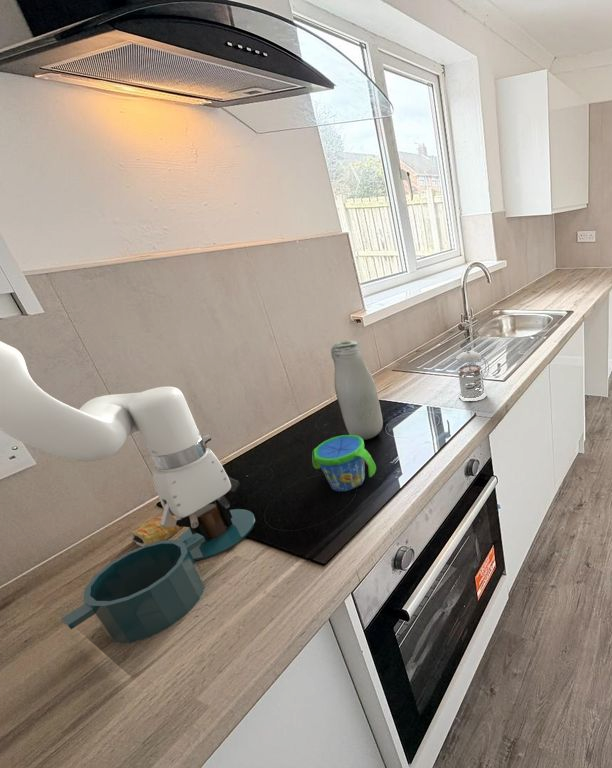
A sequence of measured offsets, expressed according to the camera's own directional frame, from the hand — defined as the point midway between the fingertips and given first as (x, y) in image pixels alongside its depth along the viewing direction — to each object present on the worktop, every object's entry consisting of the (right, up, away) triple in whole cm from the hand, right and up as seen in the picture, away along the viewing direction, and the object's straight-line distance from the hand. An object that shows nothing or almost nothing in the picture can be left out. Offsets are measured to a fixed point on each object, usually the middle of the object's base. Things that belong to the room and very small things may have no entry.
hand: (215, 530), depth 82 cm
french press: (+47, +25, +55) cm, 77 cm away
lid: (0, -1, 0) cm, 1 cm away
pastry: (-12, -2, +2) cm, 13 cm away
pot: (+1, -8, -14) cm, 16 cm away
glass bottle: (+19, +14, +34) cm, 41 cm away
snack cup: (+21, +6, +14) cm, 26 cm away
